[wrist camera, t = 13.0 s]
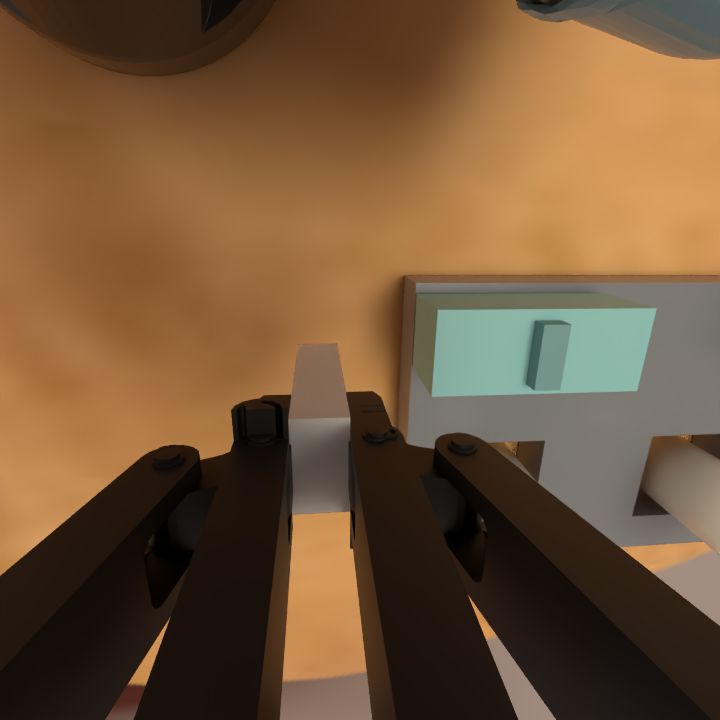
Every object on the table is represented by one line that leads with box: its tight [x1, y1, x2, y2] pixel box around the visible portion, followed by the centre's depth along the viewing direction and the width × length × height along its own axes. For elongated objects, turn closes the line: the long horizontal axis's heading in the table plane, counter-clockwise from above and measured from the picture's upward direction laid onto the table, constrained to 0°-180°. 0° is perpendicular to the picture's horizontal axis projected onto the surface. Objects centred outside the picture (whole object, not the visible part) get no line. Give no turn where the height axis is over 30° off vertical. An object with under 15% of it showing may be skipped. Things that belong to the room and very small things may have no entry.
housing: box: [398, 275, 720, 547], centre depth 26 cm, size 18×24×6 cm
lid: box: [413, 293, 657, 397], centre depth 21 cm, size 4×10×5 cm, turn 89°
